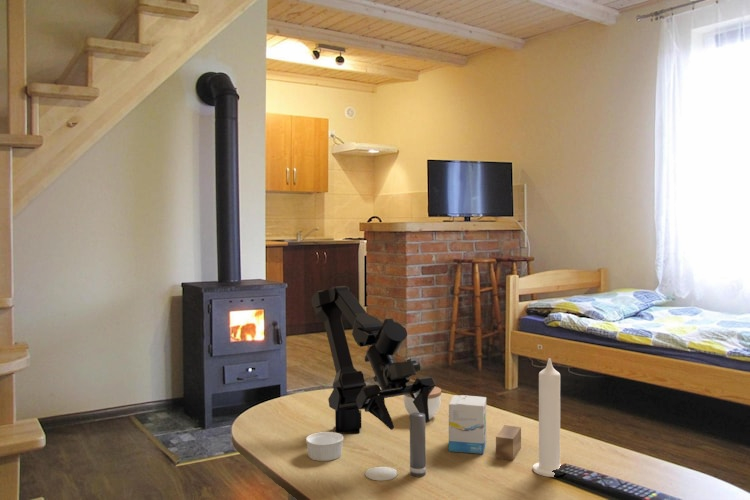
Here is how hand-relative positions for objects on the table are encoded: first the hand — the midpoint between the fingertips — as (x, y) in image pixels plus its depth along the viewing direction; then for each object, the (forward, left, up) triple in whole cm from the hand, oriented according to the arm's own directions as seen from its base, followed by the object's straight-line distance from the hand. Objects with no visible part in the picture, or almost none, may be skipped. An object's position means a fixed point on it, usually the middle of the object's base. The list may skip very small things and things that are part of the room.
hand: (410, 425), depth 140 cm
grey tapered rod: (+1, -2, -10) cm, 10 cm away
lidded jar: (+6, +38, -10) cm, 39 cm away
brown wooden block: (+24, +9, -10) cm, 27 cm away
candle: (+30, -2, -10) cm, 32 cm away
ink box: (+15, +13, -10) cm, 23 cm away
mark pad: (-7, -2, -10) cm, 12 cm away
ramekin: (-20, +10, -10) cm, 24 cm away
